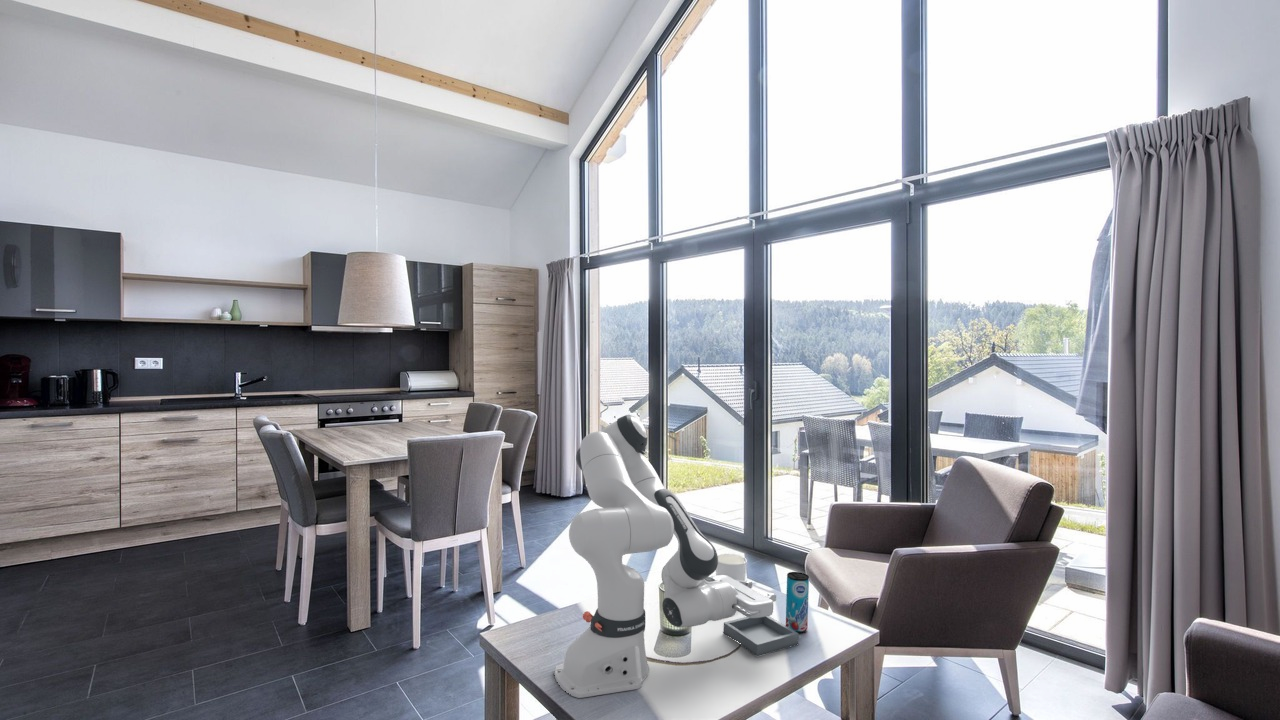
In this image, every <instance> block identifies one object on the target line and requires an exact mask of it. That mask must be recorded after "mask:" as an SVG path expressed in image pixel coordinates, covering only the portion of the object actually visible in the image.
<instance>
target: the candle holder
mask: <svg viewBox="0 0 1280 720" xmlns="http://www.w3.org/2000/svg"><path fill="white" fill-rule="evenodd" d="M717 556H718V565H717V568H716V570H715V576H717V575H727V576H729V577H731V578H732V579H734V580H739V581H746V573H747V563H748V559H747V558H746V557H745V556H742V555H740V554H736V553H721V554H717Z"/></svg>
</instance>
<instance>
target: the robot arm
mask: <svg viewBox="0 0 1280 720" xmlns="http://www.w3.org/2000/svg"><path fill="white" fill-rule="evenodd" d="M647 445H648V433H647V430H646V428H645V425H644V424H643V423H642V422H641V421H640V420H639V419H638V418H637V417H636V416H634V415H632V414H626V415H622V416H621V417H619V418H617V420H615V421H614V422H611V423H610V424H608V425H607V426H606V427H604V428H603V429H601V430H599V431H593V432H590V433H588V434H587V435H585V436H584V437H583V438H582V440H581V443H580V446H579V448H578V449H577V450H576V456H575V460H576V464H577V465H578V467H579V469H580V470H581V472H582V474H583V478H584V482H585V485H586V489H587V493H588V496H589V498H590V499H591V501H592V502H593V503H594V504H595V505H597V506H598V507H600V508H594V509H590V510H589V509H588V510H586V511H583V512H580V513H577V514H576V515H575V516H574V517H573V519H572V520H571V523H570V525H569V529H568V537H569V538H568V540H569V543H570V545H571V548H572V549H573V551H574V552H575V553H576V554H578V555H579V556H580V557H582V558H583V560H585V561H586V562H587V563H588V564H589V565H590V567H591V569H592V570H593V572H594V575H595V580H596V588H597V589H596V590H597V607H596V608H597V609H596V610H595V612H594V615H593V614H592V613H591V612H590V611H585V612H584V613H582V619H583V620H584V621H585V622H586V623H590V624H589V627H588V628H587V629H586V630H585V631H583V633H582V634H580V636H578V638H576V639H575V640H574V641H573V642H572V643H570V644H569V645H568V647H567V648H566V649H567V650H566V652H565V655H564V662H562V663H560V664H558V665H556V666H555V668H554V673H553V674H554V675H555V676H554V679H555V681H556V682H558V683H557V684H558V686H559V685H560V686H559V687H560V688H561V690H563V691H564V692H565V691H566V692H565V693H566V694H568V693H569V694H568V695H570V694H571V695H570V696H572V697H574V698H577V699H578V698H579V699H581V698H582V699H583V698H588V697H594V696H595V697H596V696H601V695H607V694H614V693H619V692H626V691H632V690H638V689H639V690H640V688H642V686H643V681H644V680H645V678H646V677H647V676H648V675H649V673H650V666H649V663H648V659H647V658H648V657H647V653H646V644H645V630H646V610H645V581H644V578H643V576H642V574H641V573H640V572H639V571H638V570H636V569H634V568H633V567H631V566H628V565H626V564H623V556H625V555H629V554H630V555H631V554H639V553H649V552H653V551H656V550H659V549H662V548H665V547H668V545H670V543H671V541H672V540H673V537H675V538H676V540H677V543H678V545H677V547H678V548H677V551H676V552H675V553H674V554H673V555H672V556H671V557H670V559H669V560H668V561H667V562H666V563H665V564H664V566H663V567H662V569H661V580H662V585H664V586H663V587H664V588H663V589H664V595H663V600H662V603H661V604H662V611H663V614H664V617H665V619H666V620H667V621H668V623H669V624H670V625H672V626H673V627H675V628H680V629H681V628H691V627H696V626H701V625H704V624H706V623H707V622H709V621H710V622H711V621H713V622H716V621H719V620H724V619H728V618H732V617H733V616H734V615H735V614H736V612H739V613H740V614H742V615H743V616H744V617H749V618H760V617H766V616H770V617H771V616H772V615H773V613H774V602H777V594H775V593H773V592H770V593H767V596H766V595H764V594H762V593H760V592H758V591H756V590H755V589H753V582H752V581H750V580H745V581H739V580H734V579H732V578H731V577H729V576H727V575H717V576H716V575H712V574H713V573H714V572H716V568H717V565H718V553H717V550H716V548H715V546H714V545H713V544H712V542H711V541H709V539H708V538H707V537H706V536H705V535H704V534H703V533H702V532H701V530H700V529H699V527H698V526H697V524H696V523H695V521H694V520H693V519H692V517H691V516H690V514H689V512H688V511H687V510H686V508H685V506H684V505H683V503H682V502H681V501H680V499H679V498H678V497H677V496H676V494H675V493H674V492H672V490H669V489H668V488H666V487H665V486H664V484H663V482H662V481H661V479H660V476H659V475H658V473H657V471H656V469H655V468H654V467H653V465H652V464H651V463H650V461H649V460H648V459H647V457H646V455H645V454H646V453H647ZM710 575H712V576H710Z"/></svg>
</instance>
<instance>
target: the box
mask: <svg viewBox="0 0 1280 720" xmlns="http://www.w3.org/2000/svg"><path fill="white" fill-rule="evenodd" d="M722 633H724V635H725V636H726V635H727V637H728V636H729V637H731V638H732V639H734V640H736V641H738V642H739V643H741V645H742V646H741V645H740V646H741V647H742V648H744V649H745V650H747V651H749V653H751V654H752V655H754V656H756V657H761V656H764V655H767V654H771V653H774V652H777V651H782V650H784V649H788V647H789V648H791V647H790V646H792V647H795V646H798V645H799V637H800V636H799V635H800V633H797V632H796V631H794V630H792V629H790V628H789V627H787V626H786V624H784V623H782V622H780V621H778V620H776V619H775V618H774V617H772V616H771V615H770V616H766V617H760V618H749V617H746V616H744V617H740V618H737V619H732V620H729V621H725V622H723V631H722ZM729 637H728V638H729ZM731 638H730V639H731ZM732 639H731V640H732ZM734 640H733V641H734ZM797 644H798V645H797ZM794 645H795V646H794Z"/></svg>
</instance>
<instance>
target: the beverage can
mask: <svg viewBox="0 0 1280 720" xmlns="http://www.w3.org/2000/svg"><path fill="white" fill-rule="evenodd" d="M786 576H787V577H786V598H785V626H787V627H789V628H790V629H792V630H794V631H796V632H797V633H799V634H803V633H802V632H804V633H806V632H807V630H808V622H809V619H808V618H809V596H810V595H809V592H810V591H809V590H810V588H809V587H810V586H809V585H810V576H809V575H808V574H807V573H804V572H801V571H789V572H788V573H787V574H786ZM805 631H806V632H805Z"/></svg>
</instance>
